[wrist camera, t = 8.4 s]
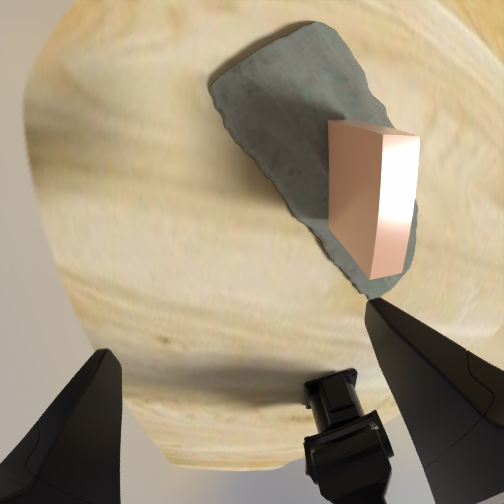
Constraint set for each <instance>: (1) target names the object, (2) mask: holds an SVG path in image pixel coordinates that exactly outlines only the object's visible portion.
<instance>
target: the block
mask: <svg viewBox="0 0 504 504" xmlns="http://www.w3.org/2000/svg"><path fill="white" fill-rule="evenodd" d="M419 142H420V136H417V135H414V134H410V133H407V132H403V131H400V130H396V129H393V128H389V127H385V126H381V125H377V124H373V123H368V122H364V121H360V120H328V143H329V221H328V228H329V229H330V230H331V232H332V233H333V234H334V235H335V236H336V238H337V239H338V240H339V241H340V243H341V244H342V245H343V246H344V248H345V249H346V250H347V251H348V253H349V254H350V255H351V256H352V258H353V259H354V260H355V261H356V263H357V264H358V265H359V267H360V268H361V269H362V270H363V272H364V273H365V274H366V276H367V277H368V278H369V280H372V279H377V278H381V277H386V276H390V275H395V274H399V273H402V270H403V265H404V261H405V256H406V251H407V245H408V240H409V234H410V228H411V222H412V215H413V208H414V201H415V192H416V183H417V172H418V160H419Z"/></svg>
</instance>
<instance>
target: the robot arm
mask: <svg viewBox="0 0 504 504" xmlns="http://www.w3.org/2000/svg"><path fill="white" fill-rule="evenodd" d="M365 326H366V329H367V332H368V334H369V337H370V340H371V343H372V346H373V349H374V351H375V354H376V357H377V360H378V363H379V366H380V368H381V370H382V373H383V375H384V377H385V379H386V381H387V383H388V385H389V388H390V390H391V392H392V394H393V396H394V399H395V401H396V403H397V405H398V408H399V410H400V412H401V415H402V417H403V419H404V422H405V424H406V426H407V429H408V431H409V433H410V436H411V438H412V440H413V443H414V446H415V448H416V451H417V453H418V456H419V458H420V461H421V464H422V466H423V468H424V472H425V475H426V477H427V480H428V483H429V486H430V488H431V491H432V494H433V497H434V500H435V503H436V504H504V371H503V370H501V369H499V368H497V367H496V366H493V365H492V364H490V363H488V362H486V361H485V360H483V359H481V358H480V357H478V356H476V355H475V354H473V353H472V352H470V351H468V350H467V351H466V349H465V348H463V347H462V346H460V345H459V344H457V343H455V342H454V341H452V340H450V339H449V338H447V337H446V336H444V335H442V334H441V333H439V332H437V331H436V330H434V329H432V328H431V327H429V326H428V325H426V324H424V323H423V322H421V321H419V320H418V319H416V318H414V317H413V316H411V315H409V314H408V313H406V312H404V311H403V310H401V309H399V308H398V307H396V306H394V305H392V304H391V303H389V302H387V301H386V300H384V299H382V298H380V297H377V298H374V299H370V300H368V301H367V304H366V311H365ZM357 374H358V373H357V370H356V369H354V370H350V371H347V372H344V373H340V374H337V375H333V376H330V377H326V378H323V379H319V380H315V381H311V382H307V383H305V384H304V392H305V405H306V409H311V408H312V412H313V415H314V419H315V423H316V426H317V430H318V434H316V435H313V436H310V437H309V436H308V437H305V438H304V440H305V442H304V443H303V444H304V449H305V457H306V470H305V471H306V475H308V476H310V477H311V478H312V480H313V482H314V483H315V484H316V485H317V484H318V485H319V489H320V493H321V495H322V496H323V497H324V498H325V499H327V500H329V501H330V502H331V503H333V504H387V503H386V500H385V496H386V493H387V489H388V486H389V483H390V479H391V475H392V468H391V465H390V462H389V459H388V458H391V457H393V456H394V453H393V450H392V447H391V444H390V441H389V439H388V436H387V434H386V432H385V429H384V427H383V425H382V422H381V420H380V418H379V416H378V413H377V411H376V410H374V411H372V412H371V413H369V414H366V415H365V414H364V412H363V409H362V407H361V404H360V401H359V399H358V396H357V394H356V391H355V384H356V379H357ZM121 421H122V367H121V364H120V363H119V361H118V360H117V358H116V357H115V356H114V354H113V353H112V352H111V350H110V349H108V348H104V349H98V350H96V351H95V353H94V354H93V355H92V356H91V357H90V358H89V359H88V361H87V362H86V363H85V364H84V365H83V366H82V367H81V369H80V370H79V371H78V372H77V373H76V374H75V376H74V377H73V378H72V379H71V380H70V382H69V383H68V384H67V385H66V386H65V387H64V389H63V390H62V391H61V392H60V394H59V395H58V396H57V397H56V398H55V400H54V401H53V402H52V403H51V404H50V406H49V407H48V408H47V409H46V411H45V412H44V413H43V414H42V416H41V417H40V418H39V420H38V421H37V422H36V423H35V424H34V426H33V427H32V428H31V429H30V431H29V432H28V433H27V434H26V436H25V437H24V438H23V439H22V440H21V441H20V442H19V444H18V445H17V446H16V447H15V448H14V449H13V450H12V452H11V453H10V454H9V455H8V456H7V457H6V458H5V459H4V460H3V461H2V462H1V463H0V504H121V501H120V443H121ZM375 427H376V428H377V429H375ZM373 428H374V429H373Z"/></svg>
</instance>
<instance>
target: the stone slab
mask: <svg viewBox="0 0 504 504" xmlns="http://www.w3.org/2000/svg"><path fill="white" fill-rule="evenodd" d="M209 92H210V95H211V96H212V98H213V101H214V106H215V109H216V110H217V111H218V112H219V113H220V114H221V116H222V118H223V123H224V127H225V128H226V129H227V130H228V131H229V133H230V135H231V136H232V138H233V139H234V141H235V142H236V143H237V144H239V145H240V146H241V148H242V150H243V151H244V152H245V153H246V154H247V155H249V156H250V157H251V158H253V160H254V161H255V163H256V164H257V166H258V167H259V169H261V170H262V171H263V172H264V174H265V176H266V177H267V178H269V179H271V180H272V181H273V183H274V184H275V186H276V188H277V190H278V191H279V192H280V193H281V194H282V196H283V197H284V198H285V200H286V201H287V203H288V206H289V208H290V210H291V211H292V213H293V214H294V215H295V217H296V219H297V220H298V221H301V222H303V223H304V224H305V225H306V226H308V227H310V228H311V229H312V231H313V233H314V234H315V235H316V236H317V237H318V238H319V239H320V240H321V242H322V245H323V247H324V249H325V250H326V252H327V253H328V255H329V256H330V258H331V259H332V261H333V262H334V263H335V264H336V265H338V266H339V267H340V269H342V270H343V271H344V273H345V274H346V275H348V277H349V279H350V281H351V282H352V283H354V285H355V288H356V289H357V290H358V291H359V293H360V294H365V295H367V297H368V300H370V299H374V298H377V297H381V296H382V295H383V294H384V293H386V292H388V291H389V290H391V289H392V288H393V287H394V286H395V285H396V284H397V282H398V281H399V280H400V279H401V277H402V276H403V275H404V274H405V273H406V272H407V270H408V269H409V268H410V267H411V263H412V260H413V256H414V252H415V244H416V227H417V212H418V206H417V202H416V198H415V201H414V208H413V215H412V222H411V228H410V234H409V240H408V245H407V251H406V256H405V261H404V265H403V270H402V273H399V274H395V275H390V276H386V277H381V278H377V279H372V280H369V278H368V277H367V276H366V274H365V273H364V272H363V270H362V269H361V268H360V267H359V265H358V264H357V263H356V261H355V260H354V259H353V258H352V256H351V255H350V254H349V253H348V251H347V250H346V249H345V248H344V246H343V245H342V244H341V243H340V241H339V240H338V239H337V238H336V236H335V235H334V234H333V233H332V232H331V230H330V229H329V228H328V221H329V143H328V120H360V121H364V122H368V123H373V124H377V125H381V126H385V127H389V128H393V129H395V128H394V126H393V125H392V124H391V122H390V120H389V118H388V116H387V114H386V108H385V106H384V105H383V104H382V103H381V102H380V101H379V100H378V99H376V98H375V97H374V96H373V95H372V94H371V92H370V91H369V88H368V84H367V80H366V77H365V72H364V71H363V69H362V68H361V66H360V65H359V64H358V62H357V61H356V60H355V58H354V56H353V54H352V53H351V51H350V49H349V48H348V46H347V44H346V43H345V42H344V41H343V40H342V38H341V37H340V36H339V34H338V32H337V31H336V30H335V29H333V28H331V27H329V26H327V25H326V24H324V23H322V22H313V23H311V24H308V25H305V26H303V27H301V28H300V29H298V30H296V31H294V32H292V33H291V34H289V35H287V36H285V37H282V38H278V39H277V40H275V41H273V42H271V43H270V44H268V45H266V46H265V47H263V48H261V49H260V50H258V51H256V52H255V53H253V54H252V55H250V56H249V57H248V58H246V59H245V60H243V61H241V62H239V63H238V64H236V65H235V66H234V67H233V68H231V69H230V70H228V71H226V72H225V73H223V74H222V75H221V76H220V77H219V78H218V79H217V80H216V81H215V82H214V83H213V84H212V85H211V86H210V88H209Z"/></svg>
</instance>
